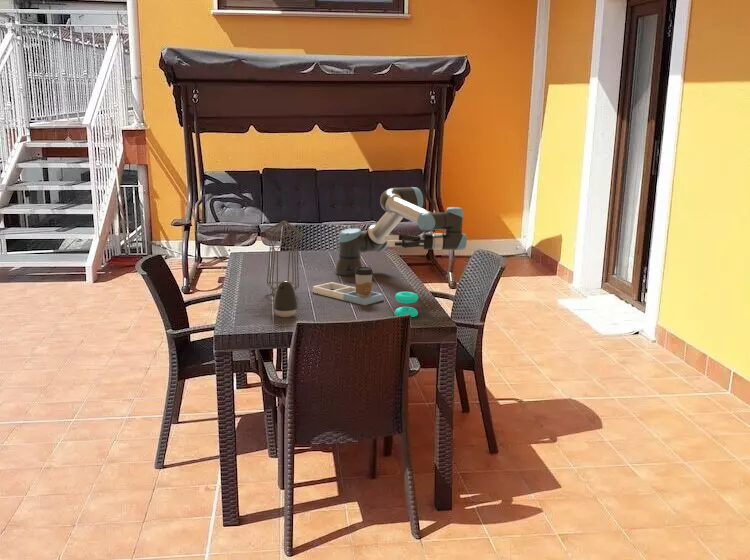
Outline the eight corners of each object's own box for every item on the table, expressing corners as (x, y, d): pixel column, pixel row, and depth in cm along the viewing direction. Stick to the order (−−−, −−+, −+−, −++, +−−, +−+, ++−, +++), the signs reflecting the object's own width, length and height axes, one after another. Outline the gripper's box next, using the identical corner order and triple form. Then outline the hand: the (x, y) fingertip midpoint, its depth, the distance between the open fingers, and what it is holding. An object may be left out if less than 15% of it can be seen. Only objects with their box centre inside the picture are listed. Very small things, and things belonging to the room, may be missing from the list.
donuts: (412, 290, 334) (422, 295, 325) (411, 312, 337) (421, 318, 328) (391, 291, 330) (401, 297, 321) (390, 314, 333) (400, 320, 324)
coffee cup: (359, 303, 350) (359, 271, 346) (351, 299, 357) (351, 267, 353) (375, 301, 353) (376, 269, 350) (367, 297, 361) (367, 266, 357)
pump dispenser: (268, 317, 323) (268, 282, 319) (280, 311, 332) (280, 277, 329) (290, 320, 319) (290, 284, 316) (301, 314, 329) (301, 279, 325)
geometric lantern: (262, 292, 365) (263, 219, 358) (294, 290, 371) (295, 218, 364) (271, 299, 351) (272, 223, 344) (304, 297, 357) (306, 223, 350)
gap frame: (331, 288, 377) (331, 282, 376) (383, 300, 356) (383, 294, 355) (312, 292, 367) (312, 286, 366) (364, 305, 346) (364, 298, 345)
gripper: (435, 254, 340) (388, 254, 338) (428, 244, 364) (383, 243, 362) (436, 237, 338) (388, 237, 336) (428, 228, 362) (384, 228, 361)
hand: (385, 240), depth 349 cm, fingers open, 13 cm apart
